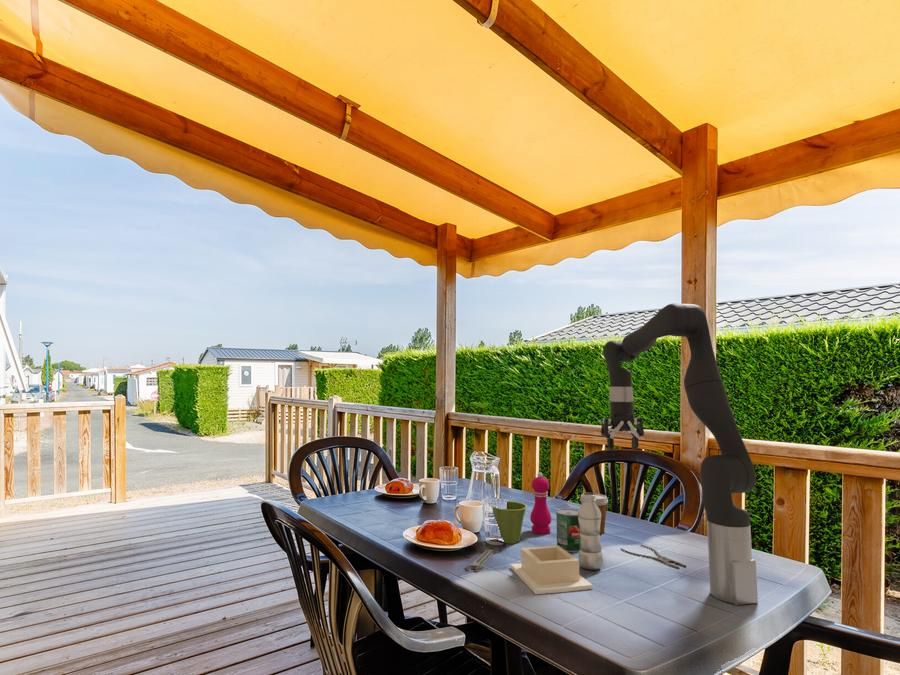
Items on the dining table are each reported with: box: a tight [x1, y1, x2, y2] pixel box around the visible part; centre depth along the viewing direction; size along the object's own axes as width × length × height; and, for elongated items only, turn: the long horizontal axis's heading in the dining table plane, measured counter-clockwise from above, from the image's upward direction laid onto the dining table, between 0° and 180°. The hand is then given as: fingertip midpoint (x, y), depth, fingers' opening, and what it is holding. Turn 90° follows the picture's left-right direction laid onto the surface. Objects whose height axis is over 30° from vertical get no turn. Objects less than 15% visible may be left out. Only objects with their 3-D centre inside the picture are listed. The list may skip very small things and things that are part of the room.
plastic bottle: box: [577, 492, 604, 571], centre depth 138 cm, size 6×7×20 cm
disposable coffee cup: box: [579, 493, 609, 535], centre depth 172 cm, size 10×10×12 cm
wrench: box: [466, 545, 500, 573], centre depth 144 cm, size 5×20×1 cm, turn 158°
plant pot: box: [490, 500, 528, 545], centre depth 162 cm, size 12×12×11 cm
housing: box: [510, 545, 593, 595], centre depth 130 cm, size 18×15×6 cm
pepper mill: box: [529, 472, 552, 535], centre depth 172 cm, size 7×7×20 cm
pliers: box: [620, 544, 687, 570], centre depth 147 cm, size 10×1×20 cm
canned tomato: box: [555, 508, 580, 553], centre depth 154 cm, size 8×8×11 cm
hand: (623, 449), depth 165 cm, fingers open, 8 cm apart
